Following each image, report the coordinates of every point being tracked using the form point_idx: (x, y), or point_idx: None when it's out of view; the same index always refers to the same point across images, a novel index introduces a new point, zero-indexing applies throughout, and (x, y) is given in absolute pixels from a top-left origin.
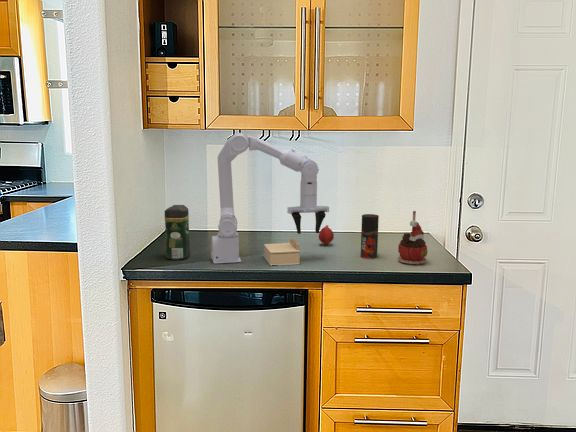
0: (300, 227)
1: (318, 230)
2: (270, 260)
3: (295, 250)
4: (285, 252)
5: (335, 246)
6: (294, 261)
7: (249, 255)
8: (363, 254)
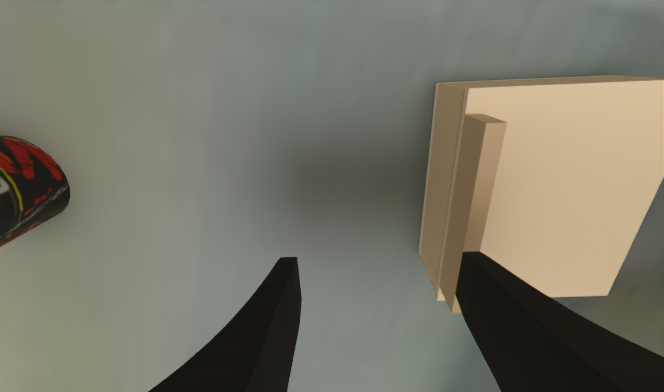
0: (504, 289)
1: (280, 270)
2: None
3: (496, 107)
4: (582, 82)
5: (190, 350)
6: (475, 82)
7: None
8: (33, 165)
